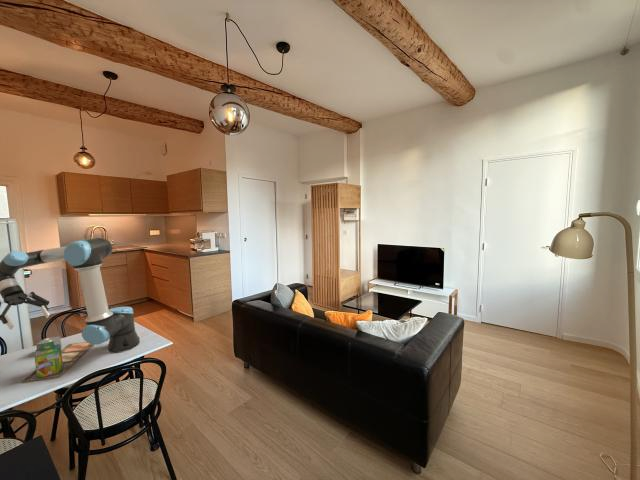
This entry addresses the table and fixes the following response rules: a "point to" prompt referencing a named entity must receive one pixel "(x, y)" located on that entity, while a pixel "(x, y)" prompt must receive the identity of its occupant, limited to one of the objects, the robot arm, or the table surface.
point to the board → (67, 358)
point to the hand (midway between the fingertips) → (30, 322)
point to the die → (54, 339)
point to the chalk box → (48, 360)
